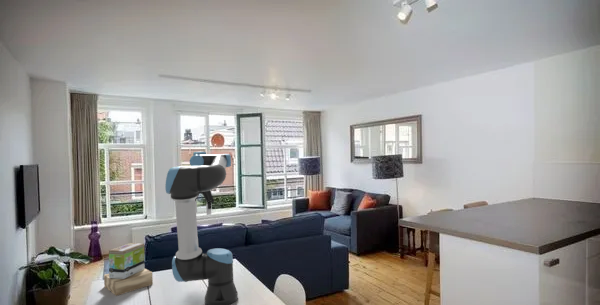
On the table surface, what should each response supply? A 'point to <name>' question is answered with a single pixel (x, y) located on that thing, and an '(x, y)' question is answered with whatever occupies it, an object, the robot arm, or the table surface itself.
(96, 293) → the table surface
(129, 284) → the oak block
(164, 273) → the table surface
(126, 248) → the tea box
